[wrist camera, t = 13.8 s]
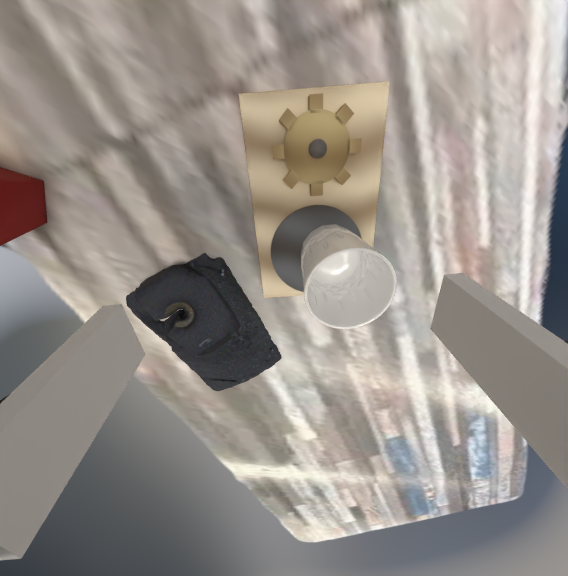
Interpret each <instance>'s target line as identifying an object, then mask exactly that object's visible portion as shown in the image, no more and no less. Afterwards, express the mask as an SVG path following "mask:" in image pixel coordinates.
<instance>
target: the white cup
mask: <svg viewBox="0 0 568 576" xmlns="http://www.w3.org/2000/svg"><path fill="white" fill-rule="evenodd" d="M301 269H302V280H303V288H304V297H305V303H306V306H307V308H308V310H309V312H310V313H311V315H312V316H313V317H314V318H315V319H316V320H318V321H319V322H320V323H322V324H324V325H326V326H329V327H332V328H337V329H351V328H357V327H360V326H363V325H366V324H368V323H370V322H372V321H373V320H375V319H376V318H378V317H379V316H380V315H381V314H383V313H384V312H385V310H386V309H387V308H388V307H389V305H390V304H391V302H392V300H393V298H394V296H395V292H396V287H397V278H396V273H395V270H394V268H393V266H392V265H391V263H390V262H389V261H388V260H387V259H386V258H385V257H384V256H383V255H382V254H380V253H379V252H378V251H376V250H375V249H374V248H373V247H372V246H370V245H369V244H368V243H367V242H365V241H364V240H363V239H361V238H360V237H359V236H357V235H356V234H354V233H352V232H351V231H350V230H348V229H347V228H344V227H342V226H339V225H337V224H331V225H322V226H320V227H318V228H317V229H315V230H313V231H311V232H310V233H309V235H308V236H307V238H306V239H305V240H304V242H303V245H302V250H301Z"/></svg>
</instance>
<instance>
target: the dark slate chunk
mask: <svg viewBox="0 0 568 576" xmlns="http://www.w3.org/2000/svg"><path fill="white" fill-rule="evenodd" d="M126 301H127V306H128V307H129V308H130V309H131V310H132V312H133V313H134V314H135V316H137V317H138V318H139V319H140V320H141V321H142V322H143V323H144V324H145V325H146V326H147V327H149V328H150V329H151V330H152V331H154V332H155V333H156V334H157V335H158V336H159V337H160V338H162V339H163V340H164V341H166V342H167V343H168V344H169V345H170V346H171V347H172V351H173V352H175V353H176V354H177V356H178V357H179V358H180V359H181V360H182V361H184V362H185V363H186V364H187V365H188V366H189V367H190V368H191V369H192V370H194V371H195V372H196V373H197V374H198V375H199V376H200V377H201V379H202V380H203V381H204V382H205V383H206V384H207V385H208V386H210V387H211V388H212V389H213V390H215V391H221V390H224V389H227V388H231V387H233V386H235V385H238V384H240V383H243V382H246V381H248V380H250V379H251V378H253V377H255V376H257V375H259V374H260V373H261V372H263V371H264V370H266V369H269V368H270V367H272V366H273V365H274V364H275V363H276V362H278V361H279V360H280V359H281V354H280V353H279V351H278V348H277V346H276V345H275V344H274V343H273V341H272V340H271V336H270V335H269V333H268V331H267V330H266V329H265V326H264V324H263V322H262V321H261V319H260V317H259V316H258V314H257V312H256V311H255V309H254V308H253V307H252V304H251V303H250V302H249V300H248V298H247V296H246V295H245V293H244V292H243V290H242V288H241V287H240V286H239V284H238V283H237V281H236V279H235V277H234V276H233V275H232V272H231V270H230V269H229V267H228V266H227V265H226V263H225V261H224V260H223V259H222V258H216V259H212V258H210V257H209V256H208V255H207V254H206V253H203V254H202V255H201V256H199V257H197V258H195V259H193V260H191V261H189V262H188V263H186V264H184V265H173V266H170V267H168V268H166V269H164V270H162V271H161V272H159V273H157V274H155V275H153V276H151V277H149V278H148V279H146V280H145V281H144V282H143V283H141V284H140V287H139V288H136V291H135V292H132V293H130V295H127V296H126ZM179 309H183V310H179ZM177 310H178V311H177ZM176 311H177V312H176ZM172 314H173V315H172ZM171 315H172V316H171ZM169 316H170V317H169ZM167 317H169V318H168V319H167V320H165V321H160V320H159V319H164V318H167Z"/></svg>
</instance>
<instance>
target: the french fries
mask: <svg viewBox="0 0 568 576" xmlns="http://www.w3.org/2000/svg"><path fill="white" fill-rule="evenodd" d="M45 223H47V216H46V203H45V190H44V181H42V180H39V179H36V178H33V177H30V176H26V175H23V174H20V173H17V172H14V171H11V170H8V169H4V168H1V167H0V246H1V245H3V244H5V243H7V242H9V241H11V240H13V239H15V238H17V237H19V236H21V235H23V234H25V233H27V232H29V231H31V230H33V229H35V228H37V227H39V226H41V225H43V224H45Z"/></svg>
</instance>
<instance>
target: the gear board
mask: <svg viewBox="0 0 568 576" xmlns="http://www.w3.org/2000/svg"><path fill="white" fill-rule="evenodd" d="M389 83H390V82H378V83H365V84H353V85H341V86H328V87H316V88H304V89H292V90H279V91H267V92H255V93H243V94H239V101H240V109H241V117H242V125H243V133H244V141H245V149H246V157H247V165H248V173H249V181H250V189H251V197H252V205H253V213H254V221H255V229H256V237H257V245H258V253H259V261H260V269H261V277H262V285H263V293H264V298H271V297H284V296H297V295H304V288H303V280H302V269H301V250H302V245H303V242H304V240H305V239H306V238H307V236H308V235H309V233H310V232H311V231H313V230H315V229H317V228H318V227H320V226H322V225H331V224H337V225H339V226H342V227H344V228H347V229H348V230H350V231H351V232H352V233H354V234H356V235H357V236H359V237H360V238H361V239H363V240H364V241H365V242H367V243H368V244H369V245H370V246H372V247H373V243H374V233H375V223H376V213H377V203H378V193H379V183H380V173H381V163H382V153H383V143H384V133H385V123H386V113H387V103H388V93H389Z"/></svg>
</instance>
